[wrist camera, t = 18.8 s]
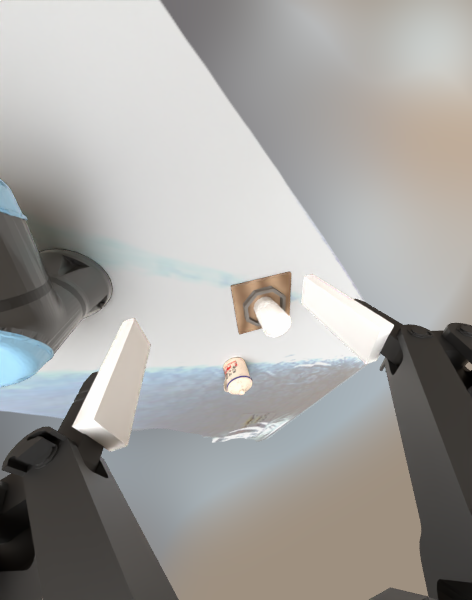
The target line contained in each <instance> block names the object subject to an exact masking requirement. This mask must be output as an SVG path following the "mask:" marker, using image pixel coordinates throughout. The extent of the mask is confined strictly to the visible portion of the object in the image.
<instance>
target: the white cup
mask: <svg viewBox="0 0 472 600" xmlns="http://www.w3.org/2000/svg"><path fill="white" fill-rule="evenodd" d="M254 312H255V314H256V317H257V319H258V321H259V323H260V325H261V327H262V329H263V331H264V333H265V334H266V335H267V336H269V337H278V336H280V335H282V334H284V333H285V332H286V331H287V330H288V329H289V328H290V326H291V318H290V316H289V315H288V314H287V313H286V312H285V311H284V310H283V309H282V308H281V307H280V306H279V305H278V304H277V303H276V302H274V301H273V300H272V299H271V298H270V297H262V298H260V299H258V300H257V301H256V302H255V304H254Z"/></svg>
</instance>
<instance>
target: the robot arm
mask: <svg viewBox="0 0 472 600" xmlns="http://www.w3.org/2000/svg"><path fill="white" fill-rule="evenodd" d="M26 220H27V217H26V216H25V215H23V214H22V211H21V209H20V207H19V205H18V203H17V201H16V199H15V197H14V195H13V193H12V191H11V189H10V187H9V186H8V185H7V184H6V183H5V182H4V181H3V180H1V179H0V387H4V386H9V385H12V384H16V383H19V382H22V381H24V380H26V379H28V378H30V377H31V376H33V375H34V374H35V373H36V372H38V370H39V369H40V368H41V367H42V366H43V365H44V364H45V363H46V362H47V361H49V360H50V359H52V357H53V356H54V354H55V352H56V351H57V350H58V349H59V347H60V346H61V345H62V344H63V342H64V341H65V340H66V339H67V337H68V336H69V335H70V334H71V332H72V331H73V330H74V329H75V327H76V326H77V325H78V324H79V322H80V321H81V320H82V319H84V318H86V317H88V316H90V315H92V314H94V313H96V312H98V311H99V310H101V309H102V308H103V307H104V306H105V305H106V303H107V302H108V301H109V299H110V297H111V294H112V284H111V281H110V278H109V277H108V275H107V273H106V272H105V271H104V270H103V269H102V268H101V267H100V266H99V265H98V264H97V263H96V262H94V261H93V260H91V259H90V258H88V257H86V256H84V255H82V254H79V253H76V252H73V251H69V250H62V249H50V250H45V251H41V252H39V251H38V249H37V246H36V244H35V242H34V239H33V237H32V234H31V232H30V229H29V227H28V224H27V222H26ZM301 304H302V305H303V306H304V307H305V308H306V309H307V310H308V311H309V312H311V313H312V314H313V315H314V316H315V317H316V318H317V319H318V320H319V321H320V322H321V323H322V324H323V325H324V326H325V327H326V328H328V329H329V330H330V331H331V332H332V333H333V334H334V335H335V336H336V337H337V338H338V339H339V340H340V341H341V342H342V343H344V344H345V345H346V346H347V347H348V348H349V349H350V350H351V351H352V352H353V353H354V354H355V355H356V356H357V357H358V358H360V359H361V360H362V361H363V362H364V363H365V364H368V363H371V362H374V361H376V360H377V359H378V357H379V355H380V353H381V354H382V355H383V356H385V359H384V361H383V363H382V365H381V367H380V371H382V370H383V368H384V367H385V368H386V373H387V377H388V381H389V386H390V390H391V395H392V398H393V403H394V408H395V412H396V416H397V421H398V425H399V430H400V434H401V438H402V442H403V447H404V451H405V456H406V460H407V464H408V469H409V473H410V478H411V482H412V486H413V491H414V495H415V500H416V504H417V508H418V513H419V517H420V521H421V537H420V556H421V562H422V567H423V572H424V577H425V581H426V587H427V591H428V596H429V597H428V596H423V595H420V594H415V593H411V592H407V591H403V590H398V589H394V588H389V589H387V590H385V591H383V592H382V593H380V594H378V595H376V596H374V597H373V598H371V599H369V600H472V370H471V371H470V370H468V369H467V368H466V367H465V365H466V364H467V363H468V362H470V363H471V364H472V326H471V325H467V324H463V323H451V324H449V325H448V326H447V327H446V328H445V330H444V331H430V330H428V329H426V328H423V327H421V326H417V325H409V324H408V325H402V324H401V323H399V322H397V321H396V320H394V319H393V318H391V317H389V316H387V315H386V314H384V313H382V312H381V311H378V310H377V309H376V308H374V307H372V306H371V305H369V304H367V303H366V302H364V301H361V300H358V299H352V298H350V297H349V296H347V295H345V294H344V293H342V292H341V291H339V290H337V289H336V288H334V287H333V286H331V285H329V284H328V283H326V282H325V281H323V280H321V279H320V278H318V277H317V276H315V275H313V274H310V275H306V276H304V279H303V290H302V302H301ZM150 346H151V344H150V343H149V341H148V339H147V338H146V336H145V334H144V333H143V331H142V329H141V328H140V326H139V324H138V322H137V321H136V319H135V318H133V319H129V320H125V321H123V323H122V325H121V327H120V329H119V331H118V333H117V335H116V337H115V339H114V341H113V344H112V346H111V348H110V350H109V352H108V354H107V356H106V358H105V360H104V362H103V364H102V366H101V368H100V370H99V371H98V372H95V373H92V374H91V375H90V376H89V378H88V379H87V380H86V381H85V382H84V383H83V385H82V387H81V389H80V391H79V394H78V395H77V396H76V398H75V400H74V403H73V404H72V406H71V407H70V409H69V411H68V413H67V415H66V417H65V419H64V420H63V422H62V424H61V426H60V428H59V430H58V431H56V430H54V429H53V428H51V427H42V428H39V429H37V430H35V431H33V432H32V433H30V434H29V435H27V436H26V437H24V438H23V439H22V440H21V441H20V442H19V443H18V444H17V445H16V446H15V447H14V448H13V449H12V450H11V451H10V453H9V454H8V456H7V457H6V459H5V461H4V462H3V466H2V470H3V471H6V472H9V473H11V474H10V475H8V476H7V477H5V478H3V479H2V480H0V600H42V598H43V600H178V598H177V596H176V594H175V592H174V590H173V588H172V586H171V585H170V583H169V581H168V579H167V577H166V575H165V573H164V571H163V570H162V568H161V566H160V564H159V562H158V560H157V558H156V557H155V555H154V553H153V551H152V549H151V547H150V545H149V543H148V541H147V539H146V538H145V536H144V534H143V532H142V530H141V528H140V526H139V524H138V523H137V521H136V519H135V517H134V515H133V513H132V511H131V509H130V507H129V506H128V504H127V502H126V500H125V498H124V496H123V494H122V493H121V491H120V489H119V487H118V485H117V483H116V481H115V479H114V477H113V476H112V474H111V472H110V470H109V468H108V466H107V464H106V462H105V461H104V459H103V458H102V457H101V454H102V451H103V448H106V449H107V450H109V451H110V452H111V451H114V450H117V449H120V448H123V447H125V446H128V442H129V437H130V433H131V429H132V424H133V420H134V416H135V411H136V407H137V403H138V398H139V394H140V389H141V385H142V381H143V376H144V372H145V368H146V363H147V359H148V355H149V350H150Z"/></svg>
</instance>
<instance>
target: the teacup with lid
mask: <svg viewBox="0 0 472 600" xmlns="http://www.w3.org/2000/svg"><path fill="white" fill-rule="evenodd" d="M223 369H224V374H225V378H226V379H225V381H224V390H225V391H226V392H230V393H231V394H240V395H243V394H244V393H245V392H246V391H247V390H249V389H250V387H251V386H252V379H251V378H250V375H249V372H248V369H247V366H246V364H245V361H244V360H243V359H242V358H232V359H229V360H228V361H227V362H226V363H225V364H224V366H223Z"/></svg>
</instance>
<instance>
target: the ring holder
mask: <svg viewBox="0 0 472 600" xmlns="http://www.w3.org/2000/svg"><path fill="white" fill-rule="evenodd" d="M290 290H291V273H290V272H285V273H281V274H277V275H273V276H269V277H265V278H260V279H256V280H252V281H248V282H244V283H240V284H236V285H231V291H232V297H233V303H234V309H235V314H236V320H237V326H238V332H239V334H243V333H246V332H250V331H253V330H257V329H260V328H262V327H261V325H260V323H259V321H258V319H257V317H256V314H255V312H254V304H255V302H256V301H257V300H258V299H260V298H262V297H270V298H271V299H272V300H273V301H274V302H276V303H277V304H278V305H279V306H280V307H281V308H282V309H283V310H284V311H285V312H286V313H287V314H288V315H289V312H290Z"/></svg>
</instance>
